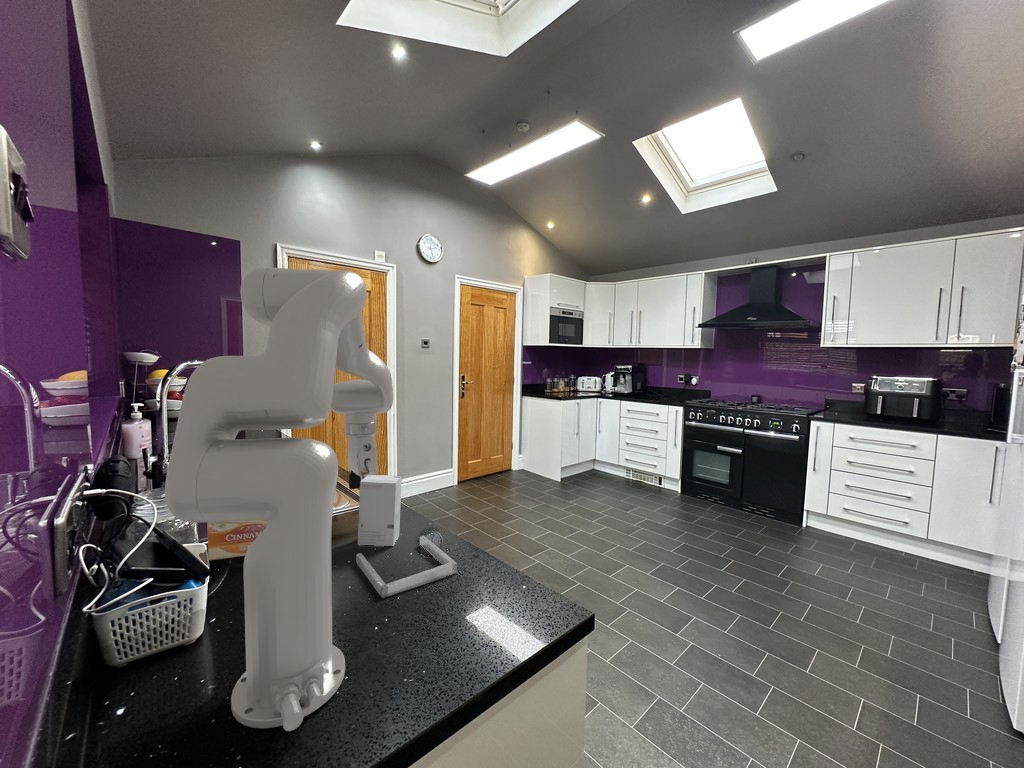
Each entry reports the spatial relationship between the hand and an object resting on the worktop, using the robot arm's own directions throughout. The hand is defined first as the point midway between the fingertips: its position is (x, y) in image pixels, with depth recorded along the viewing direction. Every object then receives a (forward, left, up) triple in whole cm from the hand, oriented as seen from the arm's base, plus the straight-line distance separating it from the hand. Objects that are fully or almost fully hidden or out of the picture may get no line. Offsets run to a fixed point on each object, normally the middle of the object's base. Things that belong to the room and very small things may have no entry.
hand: (361, 493), depth 103 cm
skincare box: (-14, 0, -7) cm, 16 cm away
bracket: (-29, 0, -7) cm, 30 cm away
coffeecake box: (-3, +24, -7) cm, 25 cm away
